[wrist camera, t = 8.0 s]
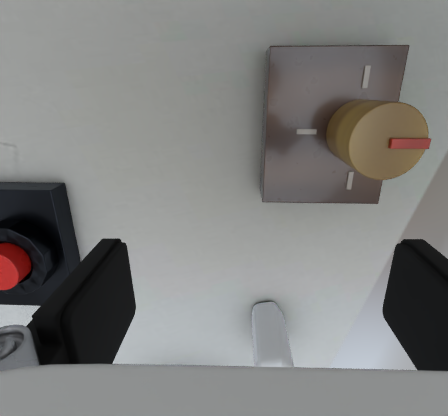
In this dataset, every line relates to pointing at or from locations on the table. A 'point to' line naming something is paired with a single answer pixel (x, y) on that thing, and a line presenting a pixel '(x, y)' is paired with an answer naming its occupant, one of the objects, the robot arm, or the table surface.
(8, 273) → the button
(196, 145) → the table surface
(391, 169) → the knob
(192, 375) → the robot arm
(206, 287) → the table surface
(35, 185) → the button box
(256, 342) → the eye dropper bottle
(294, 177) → the panel
